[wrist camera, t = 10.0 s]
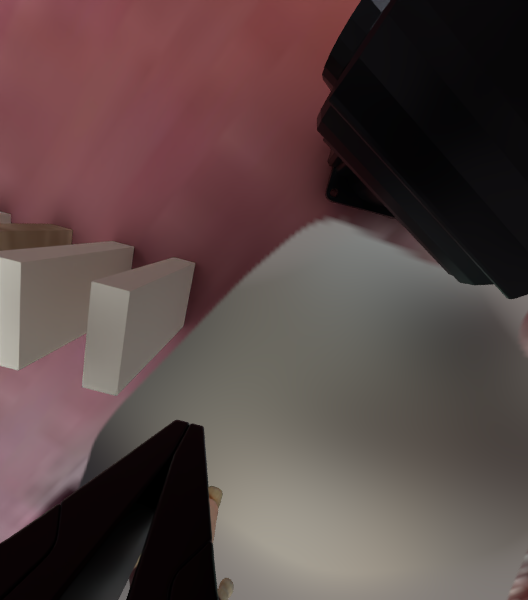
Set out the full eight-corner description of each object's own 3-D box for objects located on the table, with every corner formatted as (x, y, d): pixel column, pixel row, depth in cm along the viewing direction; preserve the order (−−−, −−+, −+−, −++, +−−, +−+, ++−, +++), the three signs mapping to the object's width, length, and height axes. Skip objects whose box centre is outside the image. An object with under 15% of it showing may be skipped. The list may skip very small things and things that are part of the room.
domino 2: (134, 246, 20) (21, 262, 11) (125, 311, 21) (18, 370, 13) (112, 240, 20) (-18, 252, 11) (105, 306, 21) (-16, 361, 13)
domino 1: (195, 262, 20) (130, 291, 11) (183, 326, 21) (116, 396, 13) (173, 257, 20) (91, 281, 11) (162, 321, 21) (81, 387, 13)
